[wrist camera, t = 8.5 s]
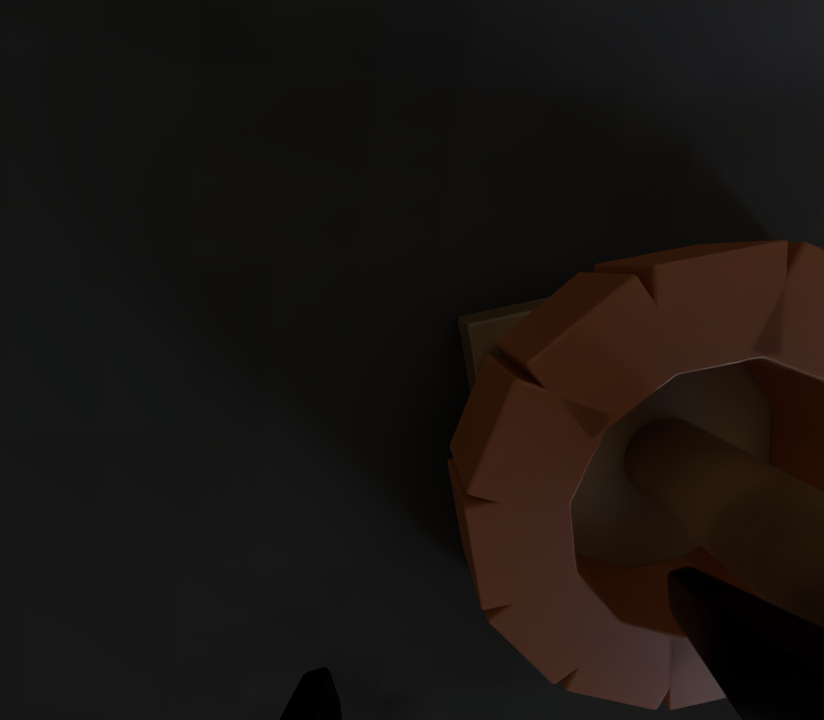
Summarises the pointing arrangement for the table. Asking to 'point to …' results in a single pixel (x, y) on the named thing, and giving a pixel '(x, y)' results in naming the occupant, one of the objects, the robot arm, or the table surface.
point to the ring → (583, 430)
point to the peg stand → (690, 480)
